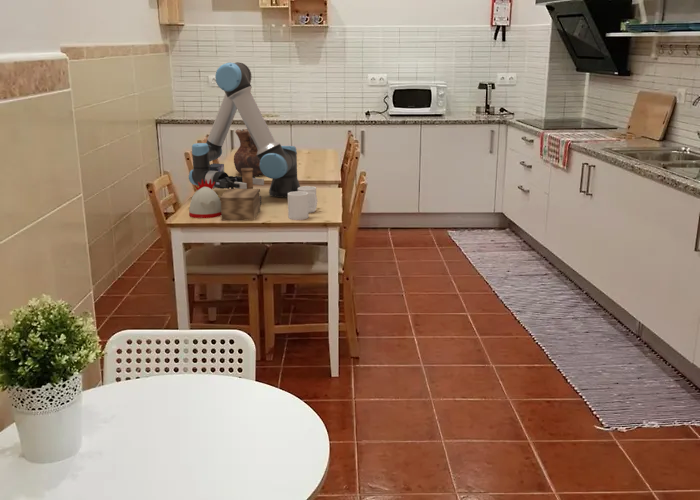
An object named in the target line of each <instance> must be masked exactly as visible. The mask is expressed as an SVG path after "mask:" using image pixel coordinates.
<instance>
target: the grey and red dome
mask: <svg viewBox="0 0 700 500" xmlns="http://www.w3.org/2000/svg"><path fill="white" fill-rule="evenodd" d="M214 183H215V182H213V184H211V179H210V181H209V184H208V183H207V180H206V179H205V184H204V182H203V179H202V183H201V184H200V183H199V182H198V184H199V186H197V185H194V187H195V189H196V191H195V192H194V193H193V195H192V198H191V200H190V204H189V210H188V215H189V217H190V218H193V219H212V218H218V217H222V214H221V201H220V197H221V196H220V195H219V194H217V192H216V191H215V190H213V186H214Z"/></svg>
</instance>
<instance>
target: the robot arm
mask: <svg viewBox="0 0 700 500" xmlns="http://www.w3.org/2000/svg"><path fill="white" fill-rule="evenodd" d="M214 76H215V77H214V78H215V82H216V85H217V86H218V88H219V89H221V90H222V91H224V93H225V94H224V96H223V99H222V101H221V104H220V106H219V109H218V112H217V114H216V116H215V119H214V122H213V124H212V127H211V129H210V132H209V133H208V136H207V140H206V141H205V142H197V143H196V142H195V143H193V144H192V145H191V157H192V169H191V170H190V171H189V173H188V180H189V181H188V182H190V183H191V185H194V186H195V185H196V186H197V187H199V184H198V182H199V183H200V184H201V183H202V179H203V182H204V184H205V179H206V180H207V183H208V184H209V181H210V179H211V184H213V182H215V183H214V186H213V188H212V190H213V189H215V188H216V189H222V190H224V189H226V190H227V189H247V183H243V179H242V175H235V176H233V175H229V174H228V173H227V172H225V171H224V172H219V171H210V163H211V162H212V161H215V160H217V159H219V158H220V157H221V156H222V154H223V149H222V148H223V145H224V144H225V140H226V137H227V136H228V133H229V130H230V128H231V125H232V123H233V120H234V118H235V116H236V113H237V112H238V113H239V115H240V117H241V119H242V121H243V123H244V125H245V127H246V129H248V131H249V133H250V135H251V137H252V139H253V141H254V143H255V145H256V147H257V149H258V152H257V157H258V159H259V161H260V170H261V172H262V173H263V174H264V175H263V176H265V177H267V178H268V179H271V183H270V187H269V189H268V190H269V191H268V193H269V196H270V197H274V198H288V193H289V192H295V191H298V187H301V185H300V183H299V182H300V181H299V179H298V152H297V147H296V146H294V145H282V144H281V143H280V142H277V141H275V138H274V136H273V134H272V133H271V132H272V131H271V130H270V129H269V127H268V125H267V122H266V119H265V118H264V117H263V114H262V112H261V111H260V108H259V106H258V104H257V102H256V101H255V99H254V96H253V95H252V92H251V91H252V84H251V83H252V82H251V81H252V77H253V76H252V72H251V69H250V68H249V66H248V65H246V64H245V63H243V62H226V63H223V64H222V65H219V67H218V68H217V70H216V71H215V75H214ZM252 177H253V185H258V186H264V185H265V179H264V178H257V177H256V176H252Z"/></svg>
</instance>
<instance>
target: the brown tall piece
mask: <svg viewBox="0 0 700 500" xmlns="http://www.w3.org/2000/svg"><path fill="white" fill-rule="evenodd" d="M252 171H253V168H242V169H241V172H242V175H241V176H242V179H243V183H247V189H254V184H253V177H252Z"/></svg>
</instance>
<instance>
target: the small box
mask: <svg viewBox="0 0 700 500" xmlns="http://www.w3.org/2000/svg"><path fill="white" fill-rule="evenodd" d="M210 171H219V172H225V164H224V163H211V164H210Z"/></svg>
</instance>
